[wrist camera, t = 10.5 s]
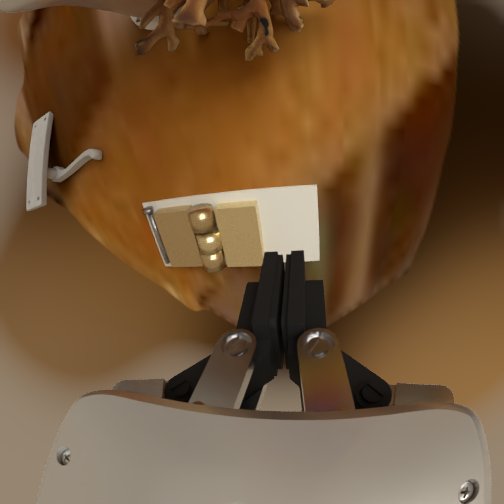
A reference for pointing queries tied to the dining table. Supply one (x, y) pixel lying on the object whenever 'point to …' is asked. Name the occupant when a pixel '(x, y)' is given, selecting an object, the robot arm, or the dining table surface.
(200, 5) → the decorative coral sculpture
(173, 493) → the robot arm
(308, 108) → the dining table surface
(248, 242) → the door leaf
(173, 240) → the frame leaf
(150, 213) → the hinge pin
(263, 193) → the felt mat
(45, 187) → the door handle
